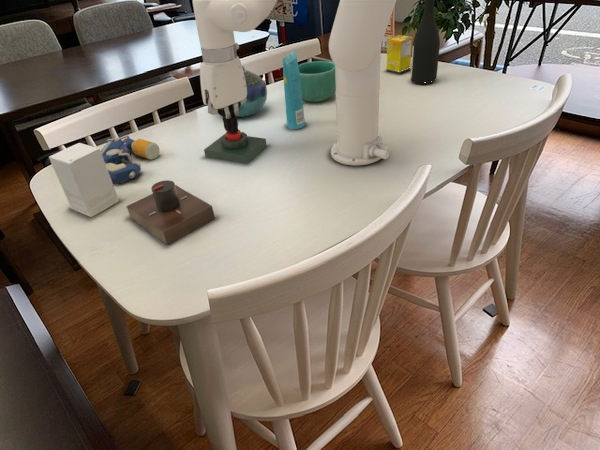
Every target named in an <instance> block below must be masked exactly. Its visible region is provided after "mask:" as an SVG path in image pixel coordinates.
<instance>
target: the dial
mask: <svg viewBox="0 0 600 450" xmlns="http://www.w3.org/2000/svg"><path fill="white" fill-rule="evenodd" d="M175 185H176V183H175V181H172V180H167V179H166V180H165V179H164V180H161V181H160V180H159V181H157V182H156V183H153V185H152V186H151V188H150V189H151V194H153V196H154V199H155V202H156V206H157V209H158V210H159V211H162V212H168V211H172V210H175V209H176V208H178V207H179V205H180V202H179V198H178V194H177V191H176V187H175Z"/></svg>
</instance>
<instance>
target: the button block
mask: <svg viewBox="0 0 600 450" xmlns="http://www.w3.org/2000/svg"><path fill="white" fill-rule="evenodd" d="M267 147H268V146H267V138H265V137H259V136H258V137H256V136H250V135H248V134H247V133H246V132H245V131H244V132H243V131H241V139H239V140H236V141H228V140H227V137H226V132H225V133H224V134H222V135H221V136H220V137H219V138H217V139H216V140H214V141H213V142H212V143H211V144H209V145H208V146H206V147H205V148H204V150H203V152H204V156H205V158H207V159H212V160H220V161H225V162H231V163H238V164H245V165H248V164H249V163H250V162H251V161H252V160H253V159H255V158H256V157H257V156H258V155H259V154H261V152H262V151H263V150H264V149H266V148H267Z"/></svg>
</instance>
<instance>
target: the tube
mask: <svg viewBox="0 0 600 450" xmlns="http://www.w3.org/2000/svg"><path fill="white" fill-rule="evenodd" d="M298 61H299V60H298V55H297V51H296V50H295V49H294V50H293V51H291V52H290V53H289V54H287V55H285V56H284V57H283V58H282V74H283V89H284V90H283V91H284V101H285V113H286V126H287V128H288V129H289V130H300V129H302V128H304V127H305V126H306V121H305V112H304V103H303V98H302V92H301V83H300V75H299V67H298V65H299V62H298Z"/></svg>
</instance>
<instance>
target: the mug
mask: <svg viewBox="0 0 600 450" xmlns="http://www.w3.org/2000/svg"><path fill="white" fill-rule="evenodd" d="M298 67H299V75H300V83H301V92H302V100H304V101H306V102H309V103H320V102H325V101H326V100H328V99H329V98H331V97H332V96H333V95H334V94H335V93H336V82H335V64H334V62H333V61H325V60H317V61H308V62H303V63H301V64H300V63H299V64H298Z"/></svg>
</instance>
